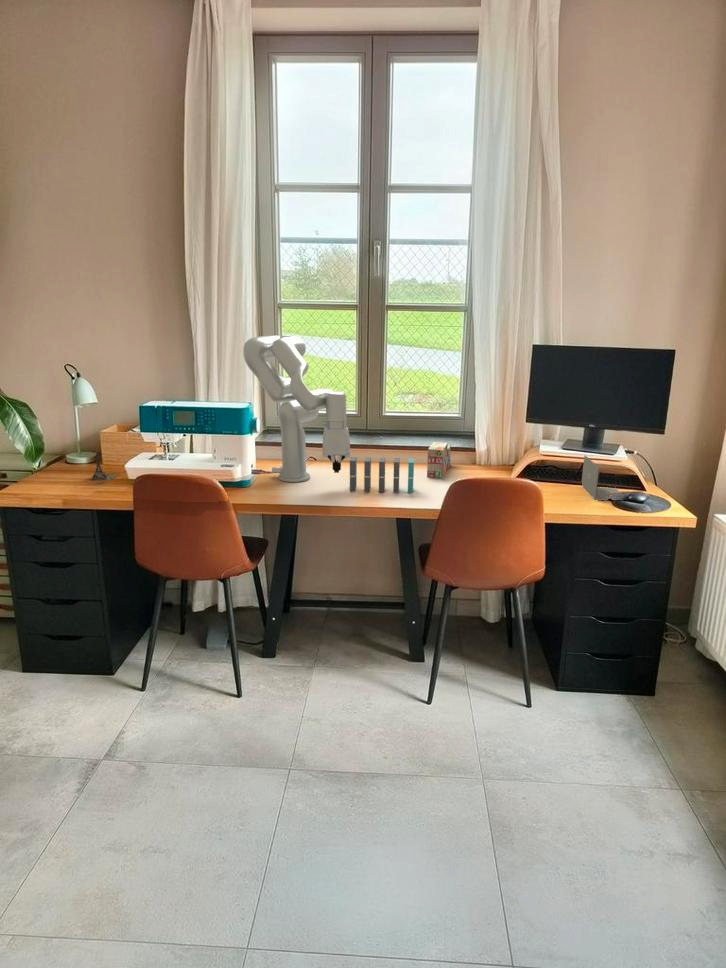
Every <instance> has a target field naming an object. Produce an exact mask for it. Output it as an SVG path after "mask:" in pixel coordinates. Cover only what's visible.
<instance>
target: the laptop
mask: <svg viewBox="0 0 726 968" xmlns="http://www.w3.org/2000/svg"><path fill="white" fill-rule="evenodd" d="M583 457H584V458H583V464H582V465H583V466H582V473H581V482H582V485H583V487H584V489H585V490H586V491H587V492H588V493H589V494H588V493H587V492H586V491H585V490H584V489H583V490H584V491H585V492H586V493H587V494H588V495H589V497H591V498H592V499H593V500H594V501H595V500H598V501H597V502H602V501H601V500H604V501H603V502H608V501H607V500H608V499H609V497H608V495H610V494H611V493H621V492H620V491H619V489H617V488H616V487H615V488H608V487H607V488H605V487H604V488H602V487H601V488H600V487H597V485H598V481H599V476H600V475H599V474H600V467H599V466H598V465H597V464H596V463H594V462H593V460H591V459H590V457H588V456H587V455H584V456H583ZM582 485H581V486H582ZM583 487H582V488H583ZM599 500H600V501H599Z"/></svg>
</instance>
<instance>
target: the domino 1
mask: <svg viewBox="0 0 726 968" xmlns="http://www.w3.org/2000/svg"><path fill="white" fill-rule="evenodd" d="M357 458H358V457H357V456H350V460H349V492H354V493H355V492H356V490H357V484H358V483H357V480H358V479H357V478H358V477H357V476H358V475H357V474H358V473H357V465H358V464H357V462H358V461H357V460H358V459H357Z"/></svg>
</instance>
